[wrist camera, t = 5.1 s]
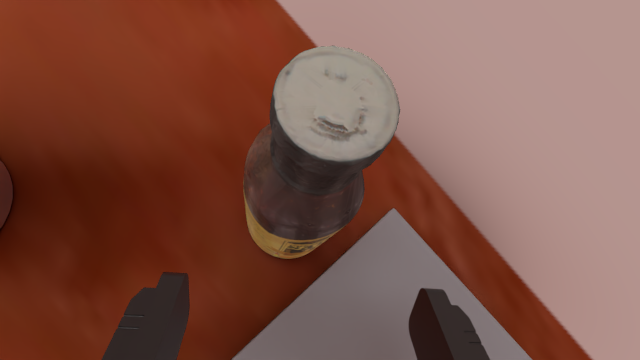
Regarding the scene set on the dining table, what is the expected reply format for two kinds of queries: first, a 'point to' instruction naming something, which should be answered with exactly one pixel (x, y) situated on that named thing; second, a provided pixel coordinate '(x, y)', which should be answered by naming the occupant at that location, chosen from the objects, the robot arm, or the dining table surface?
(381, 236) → the slate mat
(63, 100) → the dining table surface
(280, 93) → the sauce bottle
